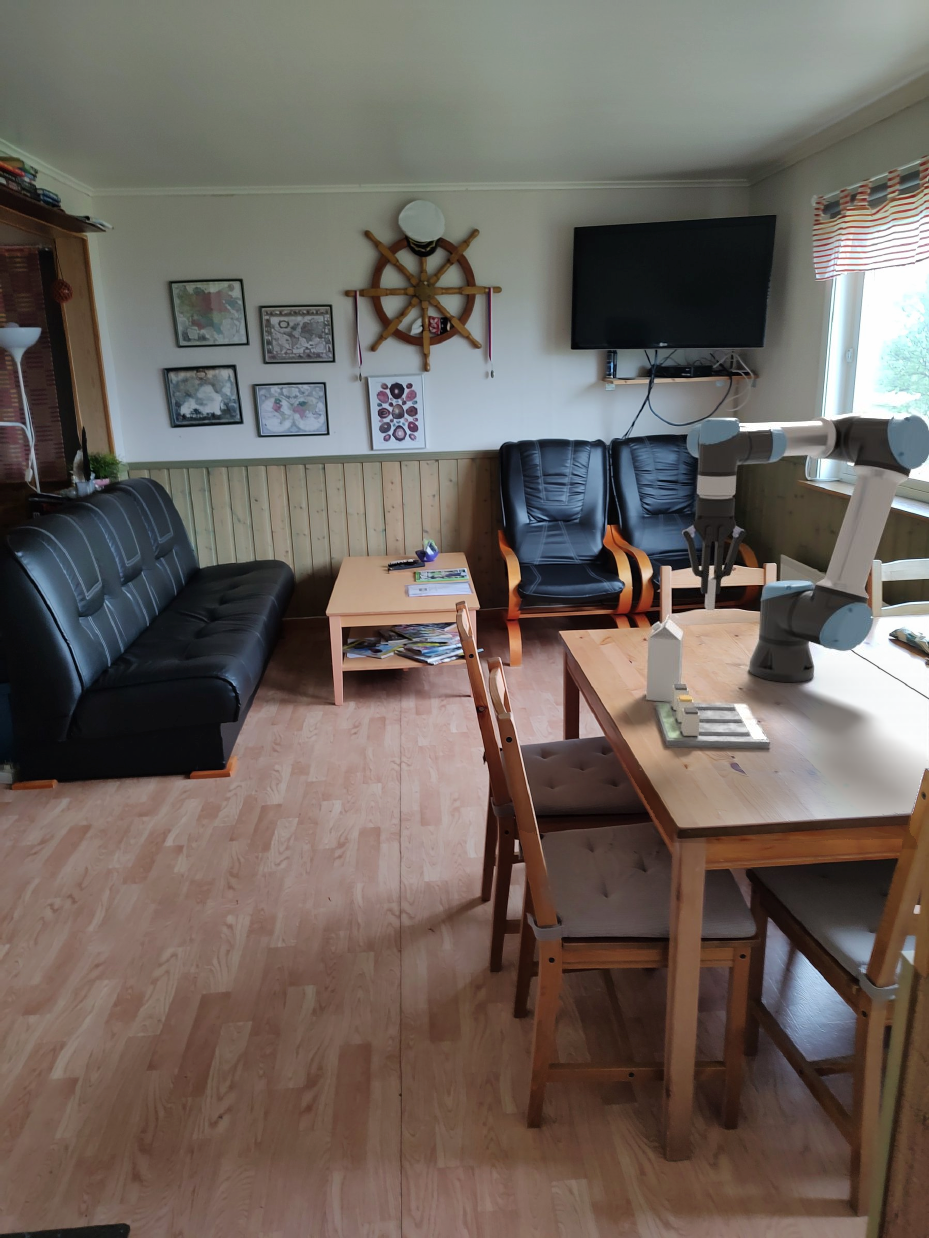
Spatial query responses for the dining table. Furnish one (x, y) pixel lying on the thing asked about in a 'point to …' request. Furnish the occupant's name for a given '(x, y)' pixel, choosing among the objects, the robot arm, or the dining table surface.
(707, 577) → the robot arm
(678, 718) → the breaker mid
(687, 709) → the block
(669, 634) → the milk carton
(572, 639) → the dining table surface
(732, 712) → the panel
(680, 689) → the block
